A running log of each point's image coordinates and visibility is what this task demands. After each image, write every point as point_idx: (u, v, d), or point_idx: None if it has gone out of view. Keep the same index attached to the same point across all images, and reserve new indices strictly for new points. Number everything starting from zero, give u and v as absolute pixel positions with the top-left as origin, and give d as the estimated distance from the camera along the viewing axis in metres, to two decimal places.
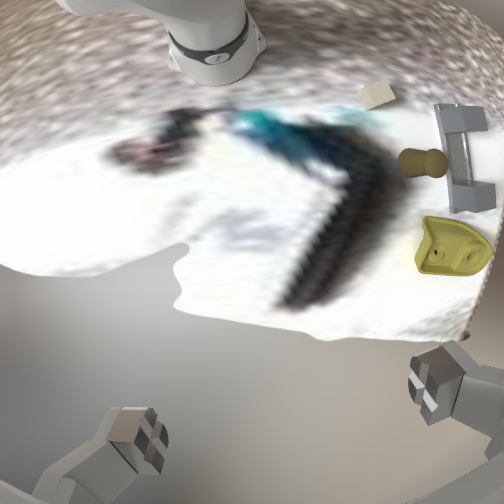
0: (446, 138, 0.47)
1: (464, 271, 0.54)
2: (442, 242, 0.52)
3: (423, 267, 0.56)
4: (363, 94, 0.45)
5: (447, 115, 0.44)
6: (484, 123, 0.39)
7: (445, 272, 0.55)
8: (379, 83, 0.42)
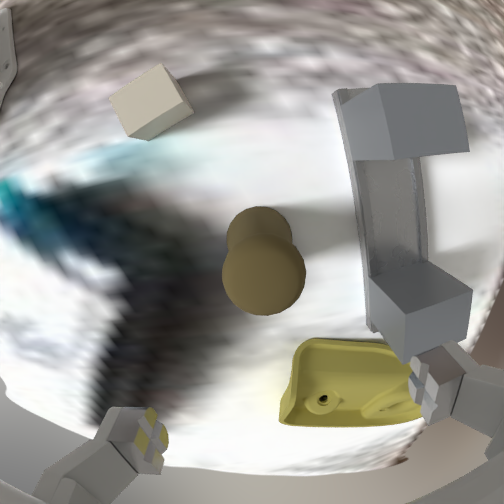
0: (359, 173, 0.24)
1: (385, 418, 0.31)
2: (334, 390, 0.29)
3: (298, 415, 0.32)
4: None
5: (354, 116, 0.20)
6: (458, 132, 0.15)
7: (343, 422, 0.31)
8: (142, 78, 0.18)
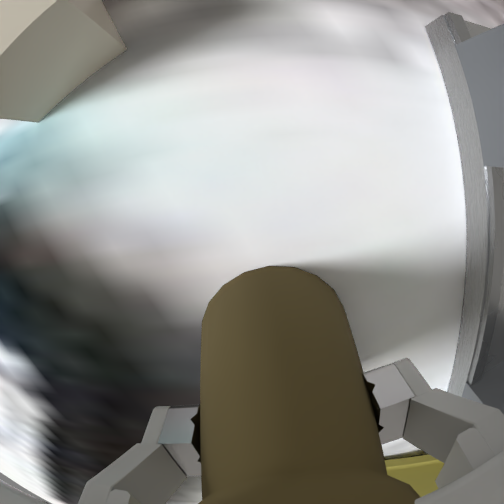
0: (495, 194, 0.08)
1: None
2: None
3: None
4: None
5: None
6: None
7: None
8: None
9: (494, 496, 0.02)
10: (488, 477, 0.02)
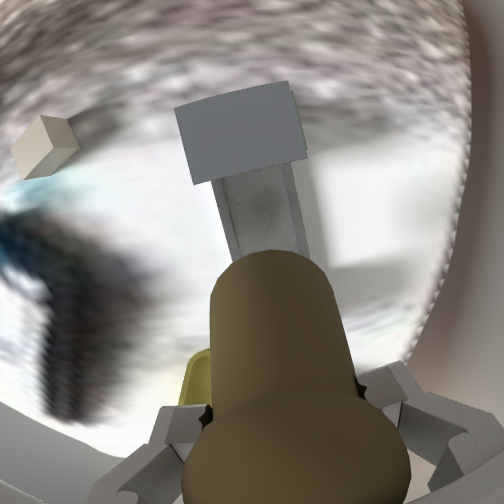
0: (216, 190, 0.25)
1: None
2: None
3: None
4: None
5: None
6: (288, 137, 0.16)
7: None
8: (29, 130, 0.19)
9: (494, 496, 0.02)
10: (488, 477, 0.02)
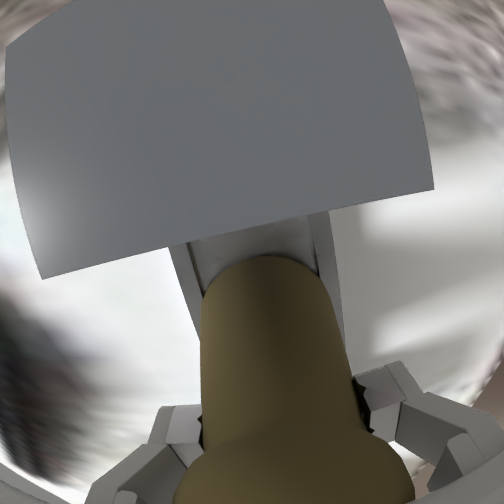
0: None
1: None
2: None
3: None
4: None
5: None
6: (373, 105, 0.04)
7: None
8: None
9: (494, 496, 0.02)
10: (488, 477, 0.02)
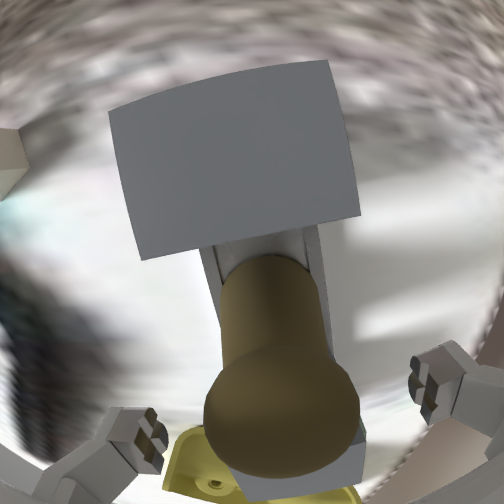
0: None
1: None
2: (223, 482, 0.21)
3: (192, 487, 0.24)
4: None
5: None
6: (326, 173, 0.08)
7: None
8: None
9: (494, 496, 0.02)
10: (488, 477, 0.02)
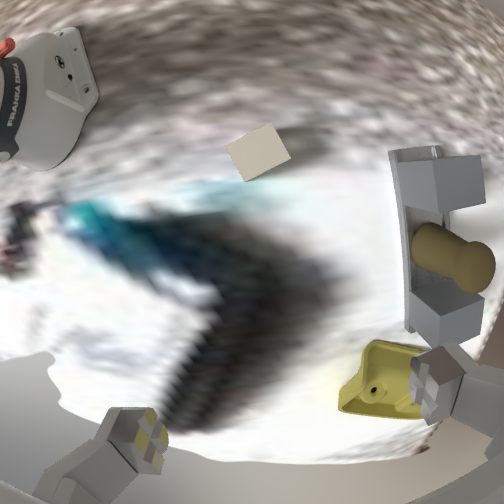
0: (406, 214, 0.31)
1: (411, 413, 0.37)
2: (386, 382, 0.35)
3: (349, 404, 0.38)
4: None
5: (408, 175, 0.27)
6: (479, 190, 0.22)
7: (382, 413, 0.37)
8: (256, 133, 0.26)
9: (494, 496, 0.02)
10: (488, 477, 0.02)
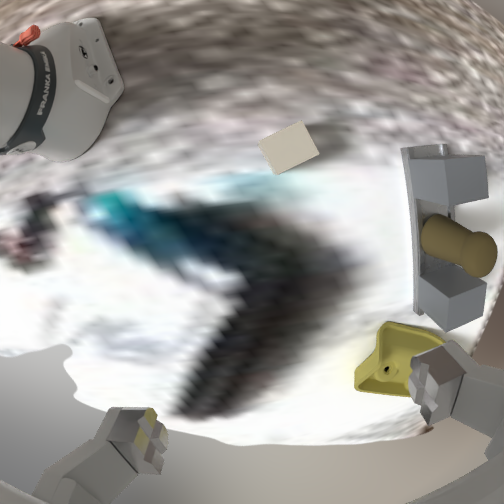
0: (417, 206, 0.33)
1: None
2: (399, 361, 0.38)
3: (364, 383, 0.41)
4: (262, 151, 0.31)
5: (420, 171, 0.30)
6: (483, 186, 0.25)
7: (393, 391, 0.41)
8: (288, 130, 0.28)
9: (494, 496, 0.02)
10: (488, 477, 0.02)
